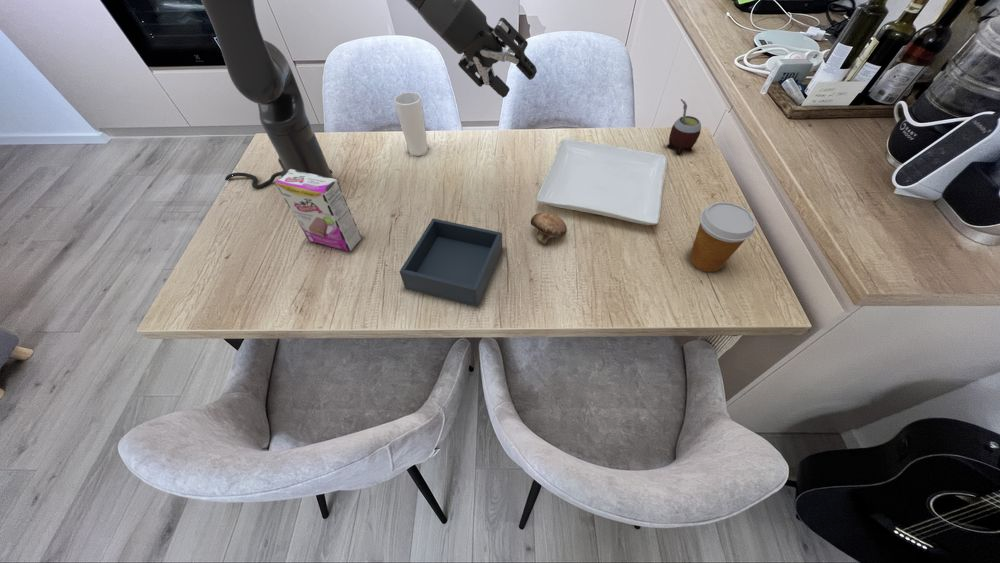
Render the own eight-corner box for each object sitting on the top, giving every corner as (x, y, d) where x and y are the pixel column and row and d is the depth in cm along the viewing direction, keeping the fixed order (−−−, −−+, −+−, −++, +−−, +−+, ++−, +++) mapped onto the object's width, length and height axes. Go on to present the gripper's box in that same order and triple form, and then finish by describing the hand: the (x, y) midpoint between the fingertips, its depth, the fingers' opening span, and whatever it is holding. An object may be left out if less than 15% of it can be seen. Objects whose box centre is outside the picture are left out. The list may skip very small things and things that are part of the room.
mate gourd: (693, 144, 108) (715, 89, 96) (691, 160, 104) (714, 104, 92) (665, 139, 110) (683, 84, 98) (662, 154, 105) (680, 99, 94)
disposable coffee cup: (725, 285, 78) (754, 242, 68) (676, 267, 81) (697, 224, 71) (733, 253, 83) (761, 209, 73) (687, 238, 86) (708, 194, 76)
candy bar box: (307, 242, 88) (273, 182, 75) (321, 228, 91) (289, 167, 78) (350, 253, 86) (322, 193, 73) (363, 238, 88) (337, 177, 76)
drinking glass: (426, 159, 107) (415, 105, 95) (402, 157, 108) (389, 103, 96) (434, 145, 111) (424, 92, 99) (411, 143, 112) (399, 90, 100)
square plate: (654, 236, 86) (659, 223, 83) (534, 211, 92) (534, 198, 89) (664, 165, 102) (668, 152, 99) (560, 148, 108) (562, 135, 105)
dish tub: (405, 288, 79) (399, 271, 75) (436, 235, 88) (432, 218, 84) (478, 307, 76) (475, 290, 72) (502, 250, 85) (502, 232, 81)
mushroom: (536, 245, 81) (546, 215, 79) (519, 233, 88) (527, 206, 86) (567, 250, 85) (577, 223, 83) (548, 239, 92) (556, 213, 90)
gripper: (483, -27, 61) (552, 53, 69) (443, 21, 73) (506, 85, 81) (462, 7, 59) (535, 85, 67) (425, 51, 71) (491, 113, 79)
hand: (519, 85), depth 74 cm, fingers open, 8 cm apart
